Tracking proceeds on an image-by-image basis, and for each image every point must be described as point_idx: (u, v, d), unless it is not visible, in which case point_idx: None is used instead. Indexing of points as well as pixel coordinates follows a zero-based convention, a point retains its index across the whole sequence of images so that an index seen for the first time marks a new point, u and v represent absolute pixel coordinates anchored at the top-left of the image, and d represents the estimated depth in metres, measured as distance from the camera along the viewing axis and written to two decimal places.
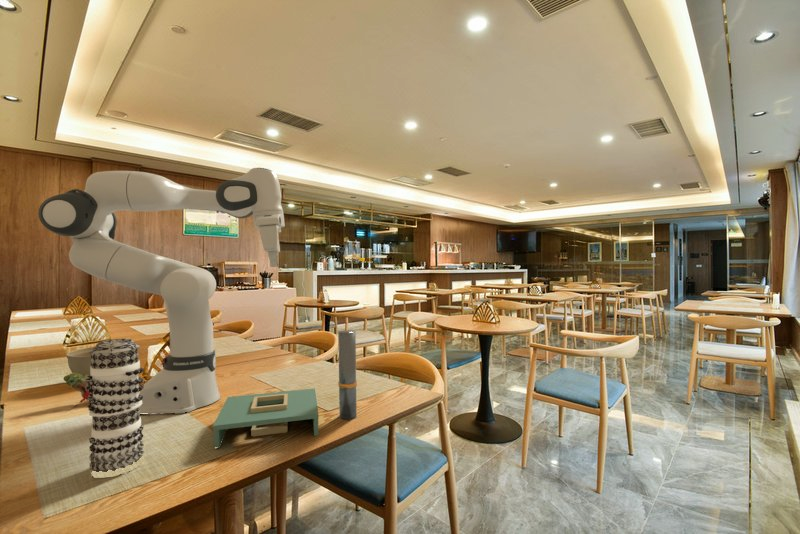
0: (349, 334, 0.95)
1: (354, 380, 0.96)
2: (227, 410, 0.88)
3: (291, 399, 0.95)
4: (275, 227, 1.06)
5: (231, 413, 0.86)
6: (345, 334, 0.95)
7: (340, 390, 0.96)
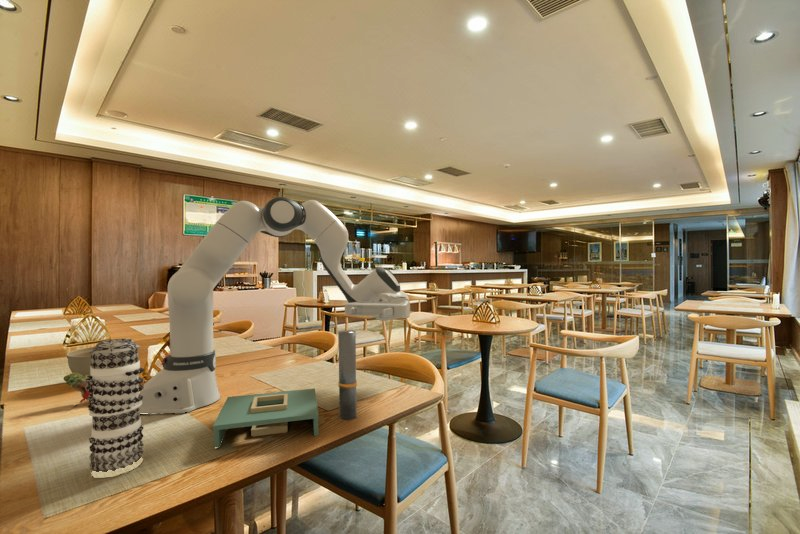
0: (349, 334, 0.95)
1: (354, 380, 0.96)
2: (227, 410, 0.88)
3: (291, 399, 0.95)
4: None
5: (231, 413, 0.86)
6: (345, 334, 0.95)
7: (340, 390, 0.96)
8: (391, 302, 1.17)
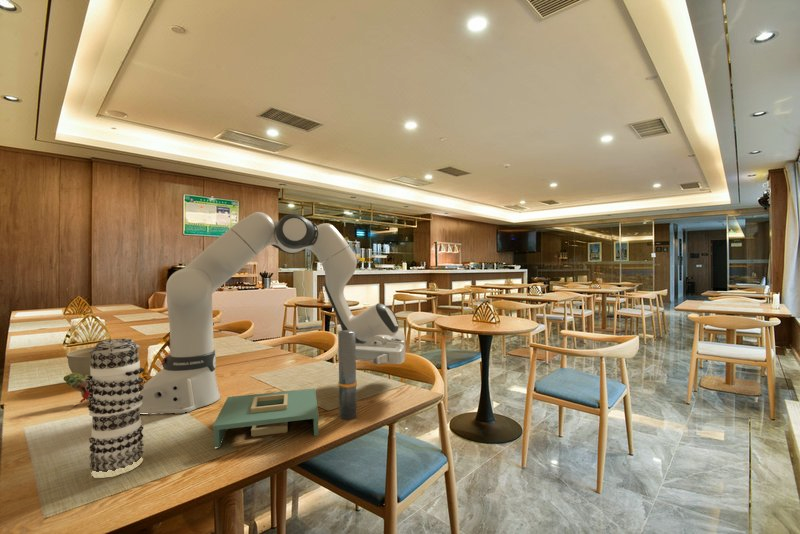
0: (349, 334, 0.95)
1: (354, 380, 0.96)
2: (227, 410, 0.88)
3: (291, 399, 0.95)
4: None
5: (231, 413, 0.86)
6: (345, 334, 0.95)
7: (340, 390, 0.96)
8: (386, 345, 1.13)
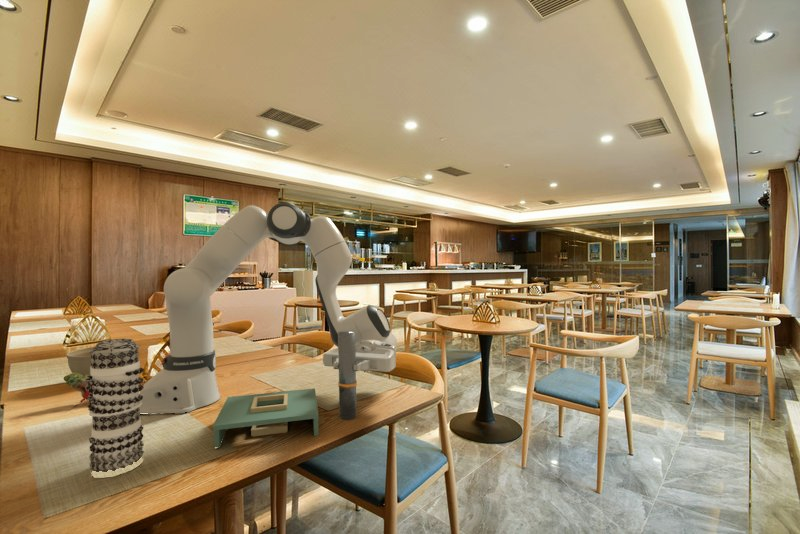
0: (349, 334, 0.95)
1: (354, 380, 0.96)
2: (227, 410, 0.88)
3: (291, 399, 0.95)
4: None
5: (231, 413, 0.86)
6: (345, 334, 0.95)
7: (340, 390, 0.96)
8: (375, 351, 1.05)
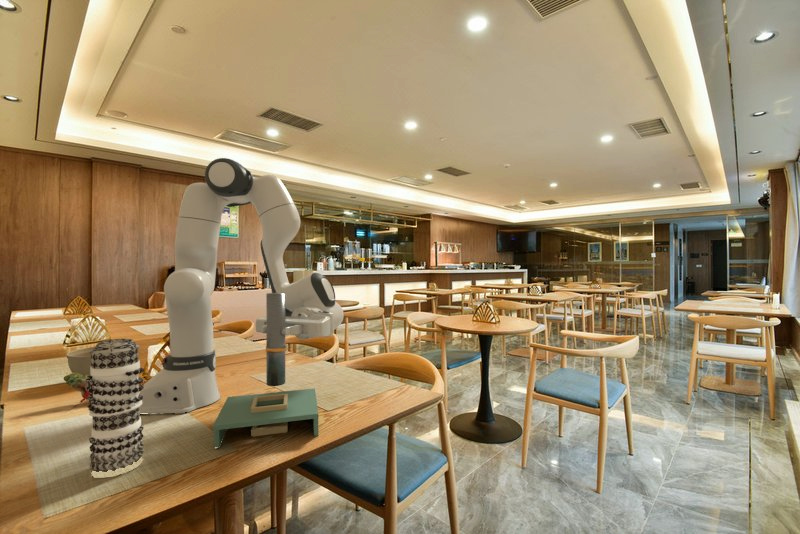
0: (277, 295, 0.89)
1: (282, 344, 0.90)
2: (227, 410, 0.88)
3: (291, 399, 0.95)
4: None
5: (231, 413, 0.86)
6: (272, 295, 0.89)
7: (267, 355, 0.90)
8: (311, 318, 0.99)
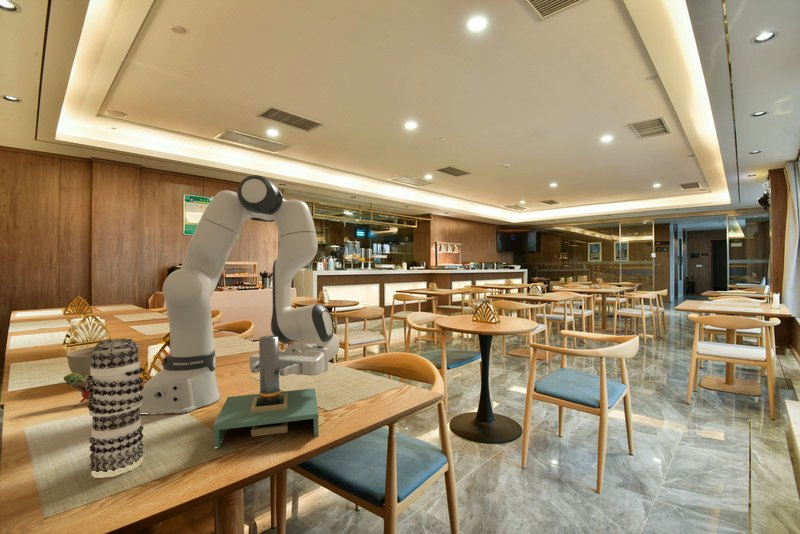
0: (269, 340, 0.89)
1: (276, 389, 0.90)
2: (227, 410, 0.88)
3: (291, 399, 0.95)
4: None
5: (231, 413, 0.86)
6: (265, 340, 0.88)
7: (260, 400, 0.90)
8: (305, 354, 0.99)
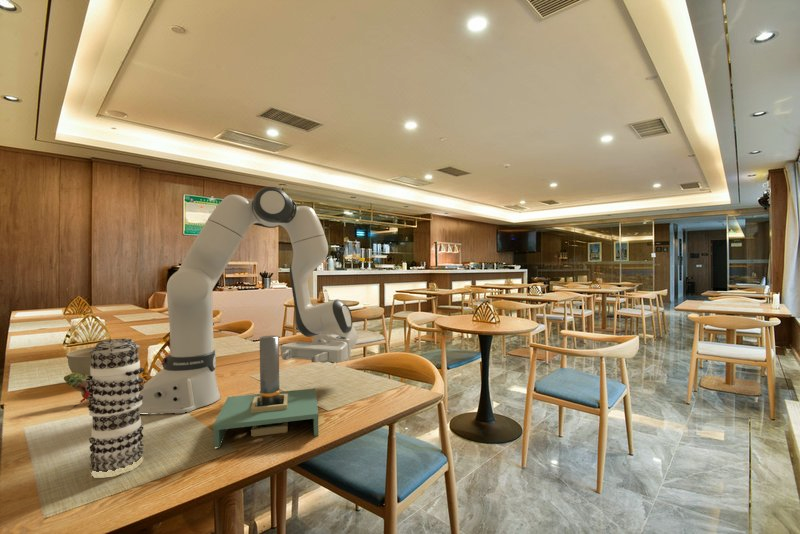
0: (270, 340, 0.89)
1: (276, 389, 0.90)
2: (227, 410, 0.88)
3: (291, 399, 0.95)
4: (347, 357, 1.09)
5: (231, 413, 0.86)
6: (265, 340, 0.89)
7: (261, 400, 0.90)
8: (330, 344, 1.10)
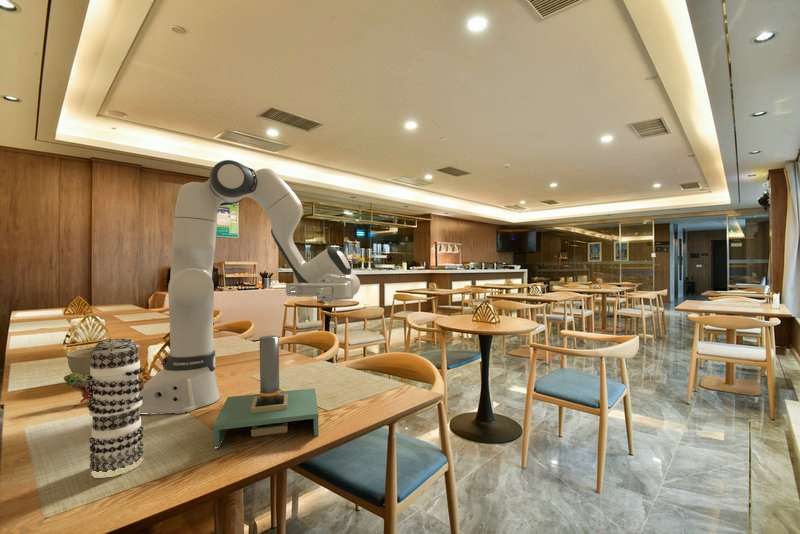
0: (270, 340, 0.89)
1: (276, 389, 0.90)
2: (227, 410, 0.88)
3: (291, 399, 0.95)
4: None
5: (231, 413, 0.86)
6: (265, 340, 0.89)
7: (261, 400, 0.90)
8: (334, 282, 1.13)
